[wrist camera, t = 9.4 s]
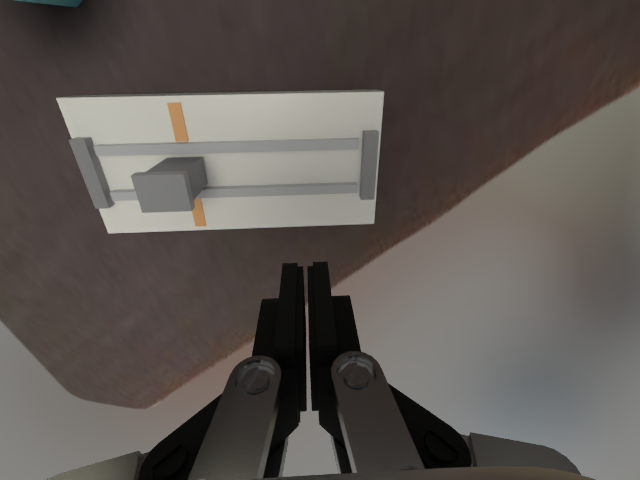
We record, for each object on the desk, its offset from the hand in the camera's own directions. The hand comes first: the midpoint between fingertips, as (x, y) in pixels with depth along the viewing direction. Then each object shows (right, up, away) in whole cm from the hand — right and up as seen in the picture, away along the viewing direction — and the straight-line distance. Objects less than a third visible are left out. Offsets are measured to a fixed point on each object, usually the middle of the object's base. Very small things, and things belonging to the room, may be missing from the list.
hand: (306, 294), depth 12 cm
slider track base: (-7, +10, +19) cm, 22 cm away
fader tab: (-11, +8, +16) cm, 21 cm away
